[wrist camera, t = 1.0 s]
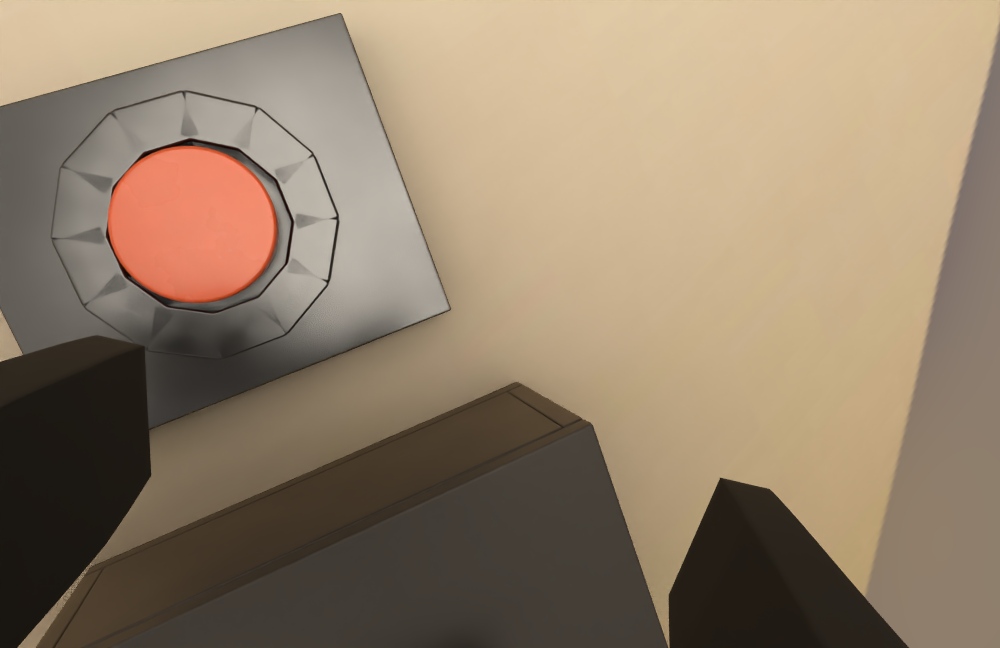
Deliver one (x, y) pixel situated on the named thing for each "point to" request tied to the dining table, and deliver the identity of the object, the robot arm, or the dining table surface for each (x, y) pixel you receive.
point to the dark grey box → (299, 514)
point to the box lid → (448, 570)
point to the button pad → (277, 164)
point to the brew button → (192, 224)
